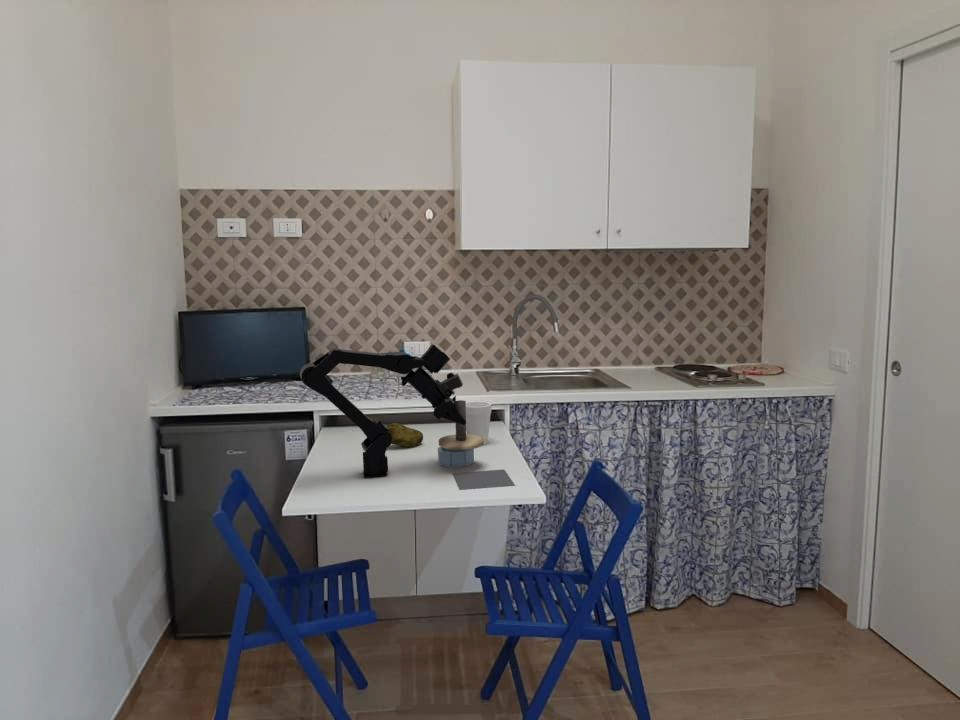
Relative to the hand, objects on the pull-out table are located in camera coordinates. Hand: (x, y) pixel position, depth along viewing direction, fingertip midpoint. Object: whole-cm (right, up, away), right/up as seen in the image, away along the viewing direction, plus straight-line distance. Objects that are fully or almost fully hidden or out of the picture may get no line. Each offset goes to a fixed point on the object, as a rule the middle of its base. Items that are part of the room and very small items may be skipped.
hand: (465, 422), depth 212 cm
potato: (-20, -10, +27) cm, 35 cm away
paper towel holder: (-1, -6, +1) cm, 6 cm away
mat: (+5, -15, -10) cm, 19 cm away
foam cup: (+3, -9, +28) cm, 30 cm away
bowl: (-3, -13, +6) cm, 14 cm away
